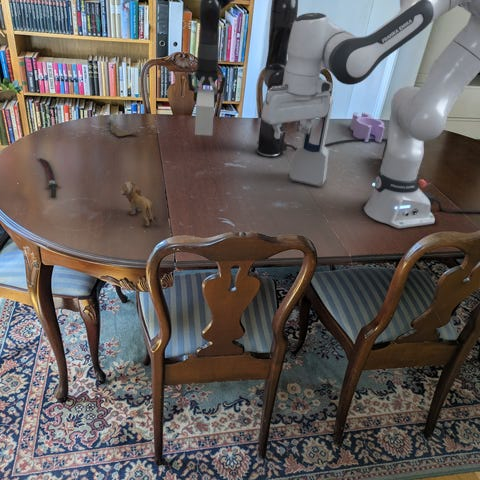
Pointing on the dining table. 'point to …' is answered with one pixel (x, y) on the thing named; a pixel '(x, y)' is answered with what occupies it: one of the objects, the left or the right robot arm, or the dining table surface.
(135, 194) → the lion figurine
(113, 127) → the jawbone
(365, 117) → the clip
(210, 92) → the box
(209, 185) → the dining table surface
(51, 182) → the sword
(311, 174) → the electronic device
